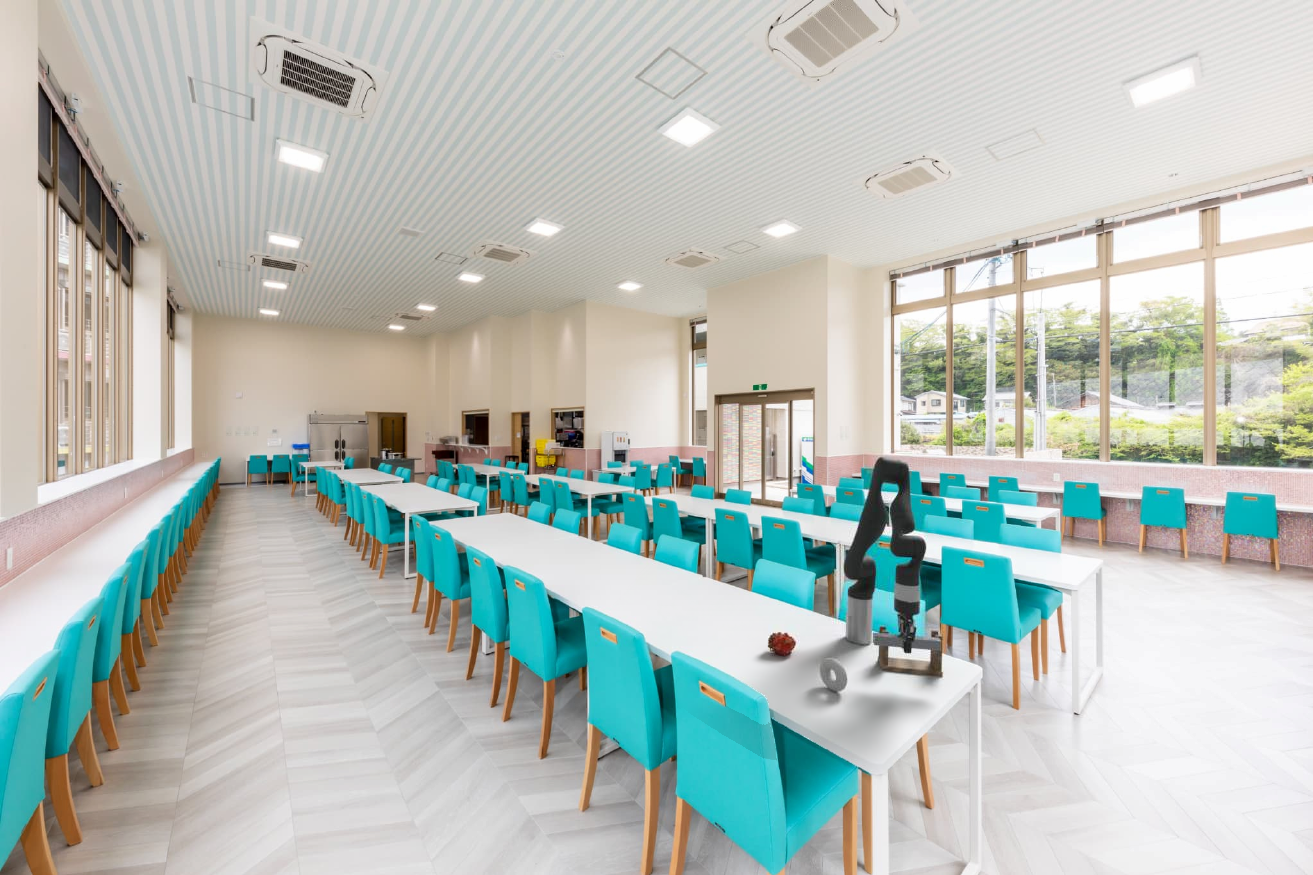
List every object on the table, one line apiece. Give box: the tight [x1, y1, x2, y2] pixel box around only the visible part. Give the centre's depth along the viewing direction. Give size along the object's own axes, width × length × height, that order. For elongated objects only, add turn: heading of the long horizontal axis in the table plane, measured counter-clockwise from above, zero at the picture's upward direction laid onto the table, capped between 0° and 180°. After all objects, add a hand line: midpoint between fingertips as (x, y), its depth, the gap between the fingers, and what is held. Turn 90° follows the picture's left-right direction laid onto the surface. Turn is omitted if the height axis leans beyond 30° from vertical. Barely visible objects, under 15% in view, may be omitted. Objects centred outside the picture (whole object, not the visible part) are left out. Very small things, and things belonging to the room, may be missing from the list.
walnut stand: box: [877, 625, 944, 677], centre depth 186 cm, size 19×8×13 cm, turn 78°
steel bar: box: [872, 632, 943, 651], centre depth 173 cm, size 20×3×3 cm, turn 79°
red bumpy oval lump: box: [767, 631, 797, 657], centre depth 196 cm, size 8×8×12 cm
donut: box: [819, 657, 848, 693], centre depth 169 cm, size 10×4×10 cm, turn 30°
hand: (906, 650), depth 173 cm, fingers closed on steel bar, 3 cm apart
